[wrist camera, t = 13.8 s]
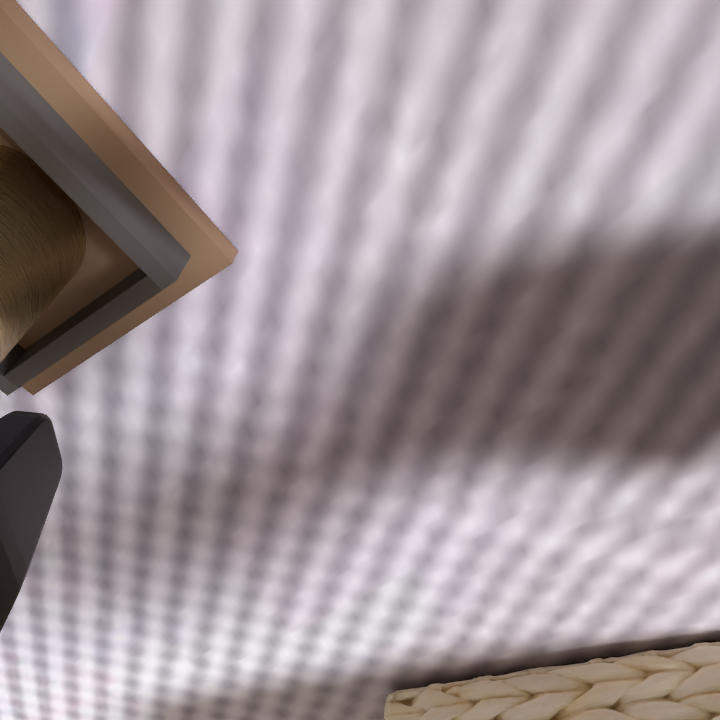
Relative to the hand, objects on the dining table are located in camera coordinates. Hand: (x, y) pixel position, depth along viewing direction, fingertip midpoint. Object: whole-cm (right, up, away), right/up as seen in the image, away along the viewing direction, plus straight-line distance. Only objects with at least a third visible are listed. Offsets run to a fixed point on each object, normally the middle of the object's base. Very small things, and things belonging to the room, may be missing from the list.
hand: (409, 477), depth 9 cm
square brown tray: (-11, +6, +13) cm, 18 cm away
